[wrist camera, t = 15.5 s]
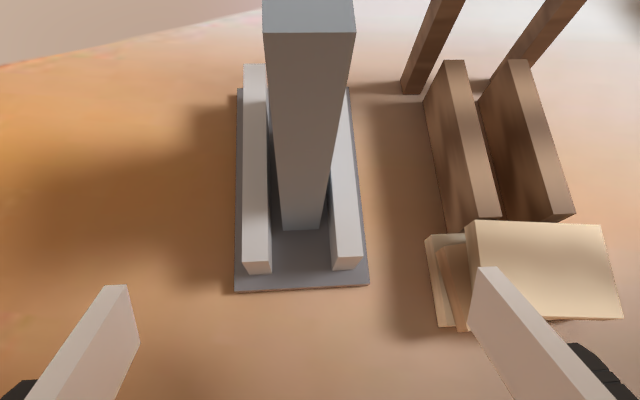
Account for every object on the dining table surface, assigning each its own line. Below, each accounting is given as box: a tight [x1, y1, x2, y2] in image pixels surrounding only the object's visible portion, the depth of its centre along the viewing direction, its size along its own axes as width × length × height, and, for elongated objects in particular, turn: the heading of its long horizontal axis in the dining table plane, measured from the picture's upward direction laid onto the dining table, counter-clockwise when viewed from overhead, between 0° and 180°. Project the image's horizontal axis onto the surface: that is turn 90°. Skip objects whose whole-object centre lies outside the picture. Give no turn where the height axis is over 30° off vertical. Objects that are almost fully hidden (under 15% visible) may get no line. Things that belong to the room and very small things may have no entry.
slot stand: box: [234, 64, 370, 293], centre depth 27 cm, size 16×9×5 cm, turn 4°
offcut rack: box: [400, 0, 624, 333], centre depth 22 cm, size 21×10×18 cm, turn 4°
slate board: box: [262, 0, 356, 231], centre depth 20 cm, size 8×2×18 cm, turn 4°
